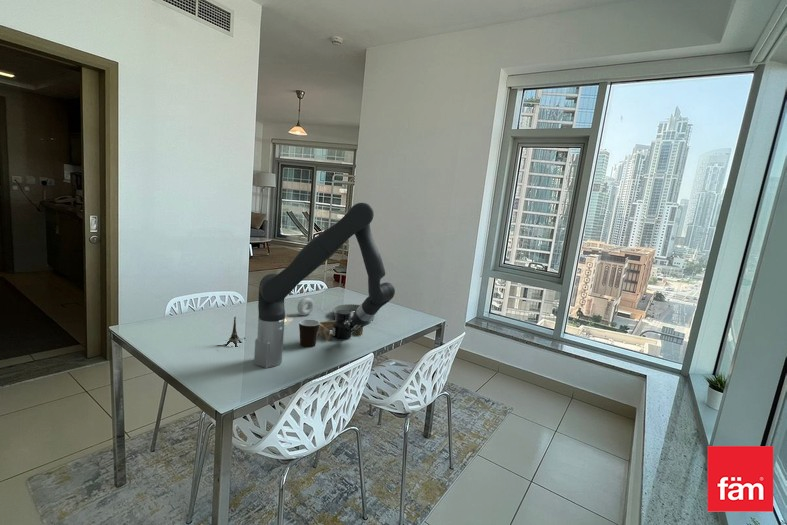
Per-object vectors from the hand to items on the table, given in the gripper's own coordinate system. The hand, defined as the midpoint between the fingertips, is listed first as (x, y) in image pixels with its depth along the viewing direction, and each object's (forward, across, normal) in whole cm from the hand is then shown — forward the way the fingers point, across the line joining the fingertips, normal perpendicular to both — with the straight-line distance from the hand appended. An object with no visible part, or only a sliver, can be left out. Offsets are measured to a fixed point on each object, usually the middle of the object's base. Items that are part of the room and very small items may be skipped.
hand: (349, 331), depth 170 cm
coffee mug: (+4, +18, +2) cm, 19 cm away
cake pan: (+24, -19, -18) cm, 35 cm away
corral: (+9, 0, -3) cm, 10 cm away
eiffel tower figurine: (+11, +47, -4) cm, 48 cm away
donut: (+31, +6, -25) cm, 40 cm away
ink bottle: (+7, +1, 0) cm, 7 cm away
